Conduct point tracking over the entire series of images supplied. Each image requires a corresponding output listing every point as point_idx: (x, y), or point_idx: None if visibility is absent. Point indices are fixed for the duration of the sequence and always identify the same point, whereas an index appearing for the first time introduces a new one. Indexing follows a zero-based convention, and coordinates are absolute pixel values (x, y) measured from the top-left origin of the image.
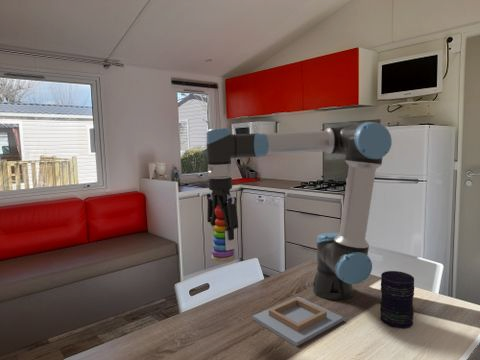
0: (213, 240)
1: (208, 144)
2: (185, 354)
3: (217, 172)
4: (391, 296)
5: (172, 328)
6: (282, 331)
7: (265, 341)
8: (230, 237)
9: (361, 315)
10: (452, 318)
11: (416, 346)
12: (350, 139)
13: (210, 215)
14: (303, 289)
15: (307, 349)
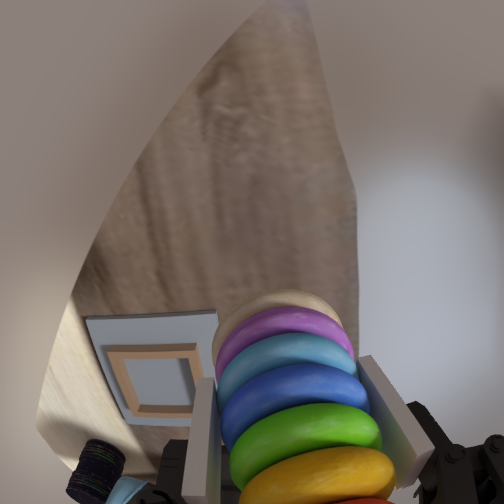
0: (329, 370)
1: None
2: (174, 108)
3: None
4: (79, 471)
5: (296, 123)
6: (125, 325)
7: (124, 281)
8: (162, 457)
9: (133, 442)
10: None
11: (52, 419)
12: None
13: (499, 494)
14: None
15: (76, 324)
